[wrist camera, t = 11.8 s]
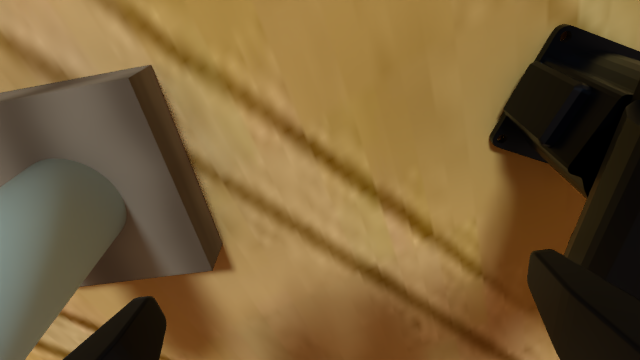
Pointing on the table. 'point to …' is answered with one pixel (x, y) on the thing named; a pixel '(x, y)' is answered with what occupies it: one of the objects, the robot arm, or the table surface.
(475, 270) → the table surface
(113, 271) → the grey square slab
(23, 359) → the sage wooden pillar
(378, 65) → the table surface
